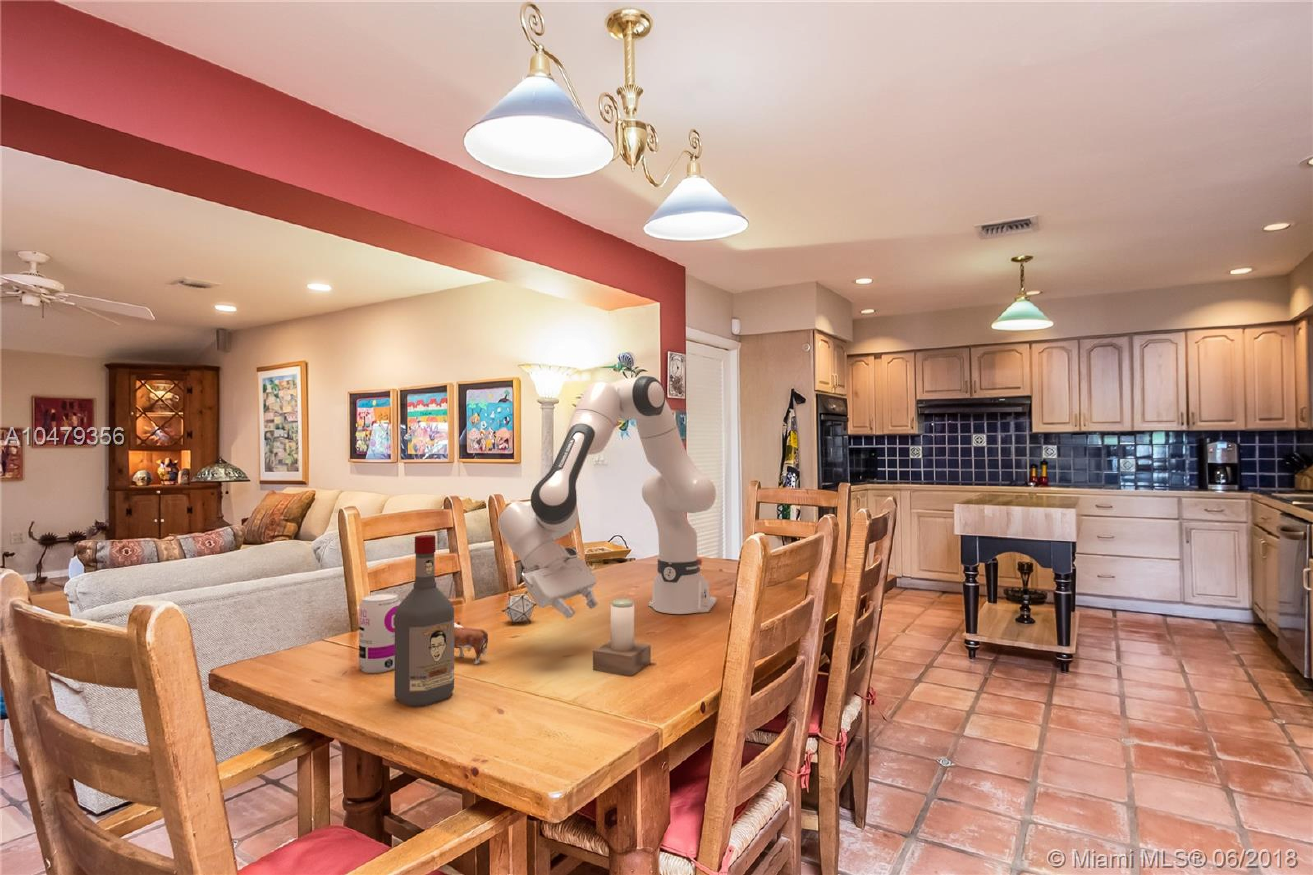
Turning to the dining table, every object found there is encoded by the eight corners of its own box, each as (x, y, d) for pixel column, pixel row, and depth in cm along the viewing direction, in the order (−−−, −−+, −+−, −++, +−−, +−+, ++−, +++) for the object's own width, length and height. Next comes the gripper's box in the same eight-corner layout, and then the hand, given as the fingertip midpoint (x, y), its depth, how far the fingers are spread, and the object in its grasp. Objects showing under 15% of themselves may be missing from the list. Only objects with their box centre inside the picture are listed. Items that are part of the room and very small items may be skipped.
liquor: (389, 697, 123) (389, 536, 123) (433, 684, 130) (434, 532, 130) (414, 710, 117) (415, 541, 117) (459, 695, 124) (460, 535, 124)
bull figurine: (449, 652, 151) (449, 616, 151) (492, 661, 144) (492, 624, 144) (434, 657, 147) (434, 620, 147) (477, 667, 140) (477, 628, 140)
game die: (524, 638, 174) (531, 612, 169) (494, 626, 175) (501, 600, 169) (536, 614, 182) (543, 589, 177) (508, 603, 182) (514, 577, 177)
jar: (617, 642, 144) (618, 597, 144) (638, 645, 141) (638, 600, 141) (606, 648, 139) (606, 602, 139) (626, 652, 137) (627, 605, 137)
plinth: (614, 657, 146) (614, 639, 146) (650, 663, 142) (650, 644, 142) (592, 669, 138) (592, 650, 138) (630, 676, 134) (630, 656, 134)
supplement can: (408, 663, 143) (408, 593, 143) (383, 676, 135) (383, 602, 135) (376, 660, 145) (377, 591, 145) (349, 672, 137) (350, 600, 137)
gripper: (526, 561, 139) (565, 612, 134) (579, 547, 157) (615, 593, 152) (509, 580, 140) (547, 632, 136) (563, 565, 159) (598, 610, 154)
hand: (583, 611), depth 144 cm, fingers open, 8 cm apart
